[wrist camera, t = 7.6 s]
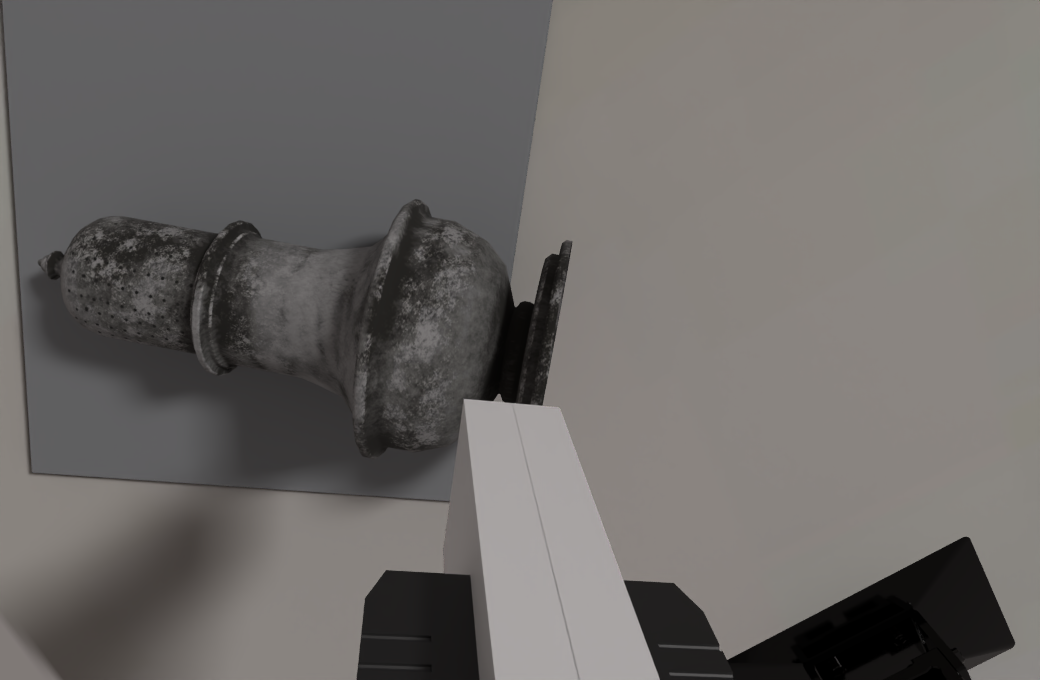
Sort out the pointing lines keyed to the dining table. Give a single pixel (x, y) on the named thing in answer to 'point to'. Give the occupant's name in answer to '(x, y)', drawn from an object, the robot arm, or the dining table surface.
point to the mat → (249, 200)
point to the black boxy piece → (893, 628)
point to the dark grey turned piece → (328, 314)
